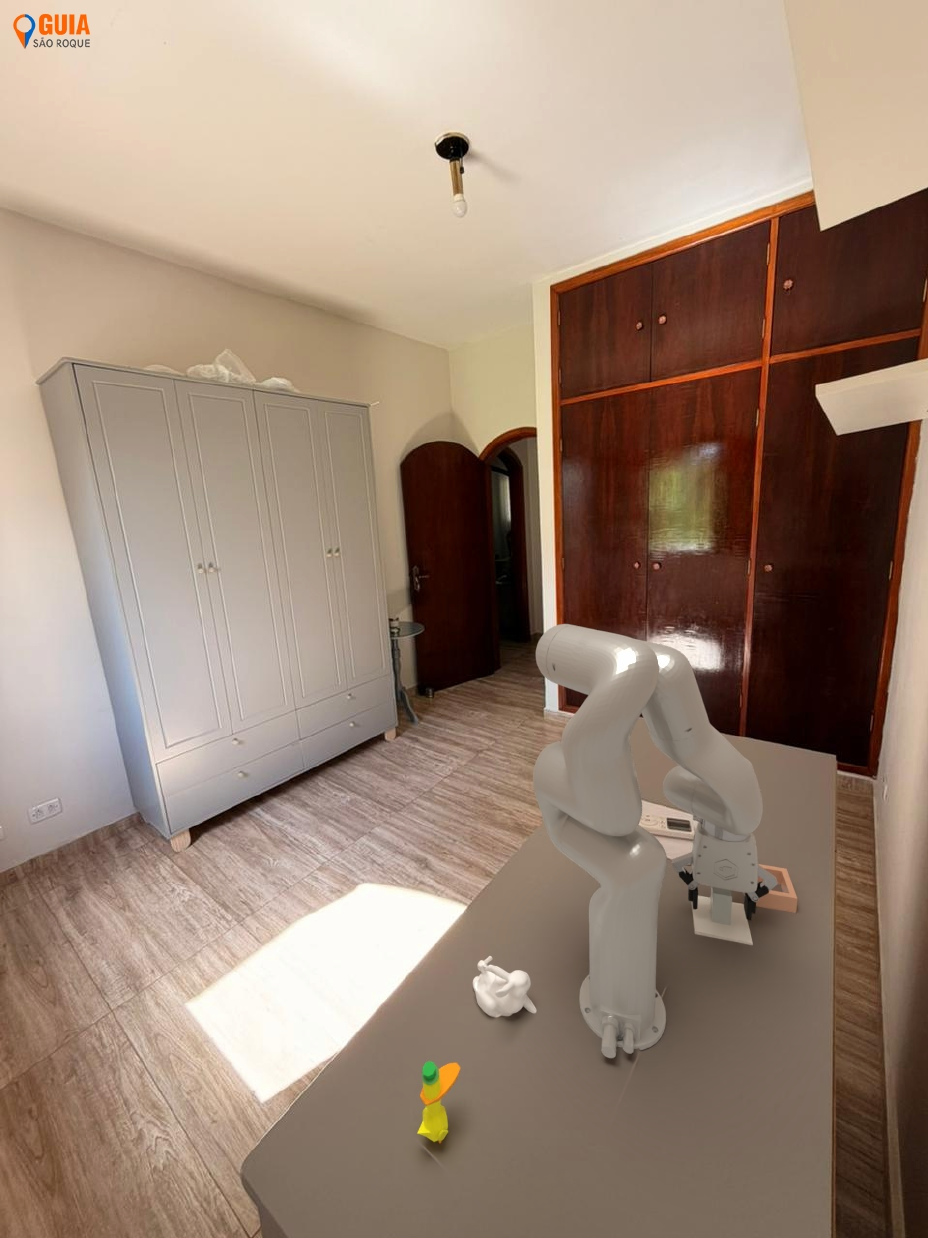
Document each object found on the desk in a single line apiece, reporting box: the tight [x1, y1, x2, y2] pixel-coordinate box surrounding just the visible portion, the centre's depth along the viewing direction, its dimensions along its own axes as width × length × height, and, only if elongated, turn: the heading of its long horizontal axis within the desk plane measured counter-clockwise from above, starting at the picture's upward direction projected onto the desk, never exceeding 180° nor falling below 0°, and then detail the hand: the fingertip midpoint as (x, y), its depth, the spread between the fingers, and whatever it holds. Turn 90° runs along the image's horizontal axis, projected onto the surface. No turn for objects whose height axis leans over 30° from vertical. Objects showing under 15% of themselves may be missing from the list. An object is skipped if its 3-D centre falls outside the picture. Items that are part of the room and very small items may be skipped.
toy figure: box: [416, 1060, 461, 1144], centre depth 61 cm, size 7×4×12 cm, turn 130°
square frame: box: [742, 863, 798, 914], centre depth 96 cm, size 8×8×4 cm
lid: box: [690, 886, 754, 946], centre depth 90 cm, size 9×9×7 cm
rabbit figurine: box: [472, 955, 537, 1018], centre depth 76 cm, size 12×8×10 cm, turn 52°
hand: (720, 908), depth 90 cm, fingers open, 8 cm apart
